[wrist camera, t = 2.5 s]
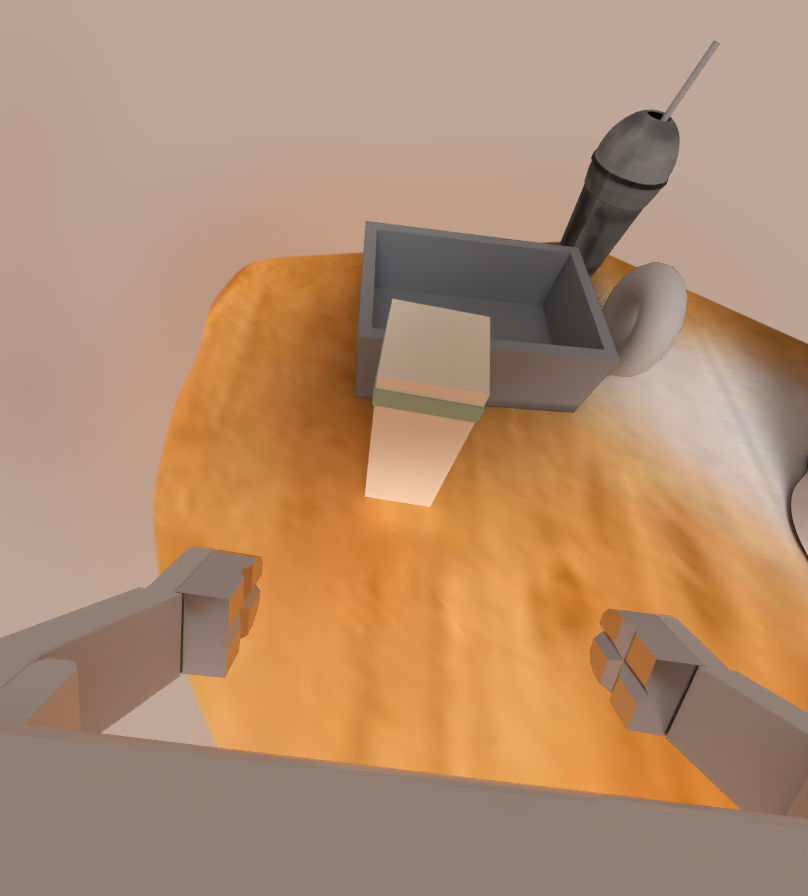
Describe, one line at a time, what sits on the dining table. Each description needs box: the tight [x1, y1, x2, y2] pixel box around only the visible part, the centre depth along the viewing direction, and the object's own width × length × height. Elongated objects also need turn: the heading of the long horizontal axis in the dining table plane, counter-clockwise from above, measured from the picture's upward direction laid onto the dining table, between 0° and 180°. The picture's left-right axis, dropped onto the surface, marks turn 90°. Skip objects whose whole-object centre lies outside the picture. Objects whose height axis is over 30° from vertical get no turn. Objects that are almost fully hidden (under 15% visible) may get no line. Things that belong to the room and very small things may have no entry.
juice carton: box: [365, 299, 490, 507], centre depth 24 cm, size 5×5×14 cm
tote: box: [355, 221, 620, 412], centre depth 34 cm, size 20×14×7 cm
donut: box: [602, 262, 687, 377], centre depth 35 cm, size 10×4×10 cm, turn 174°
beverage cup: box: [560, 41, 720, 278], centre depth 37 cm, size 7×7×20 cm
